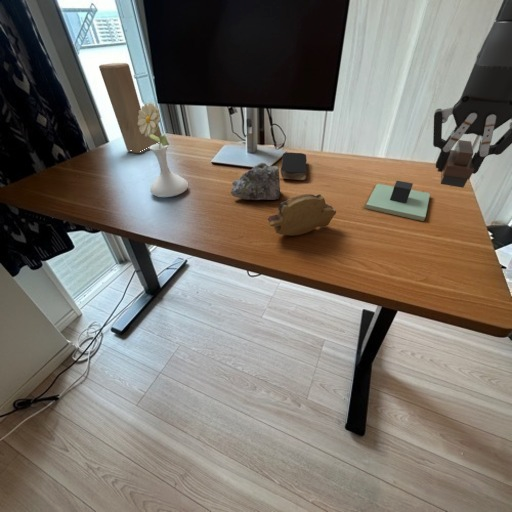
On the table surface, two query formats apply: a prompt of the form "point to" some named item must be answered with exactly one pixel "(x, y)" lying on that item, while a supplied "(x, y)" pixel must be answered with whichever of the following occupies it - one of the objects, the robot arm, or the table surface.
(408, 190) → the charcoal matte cube
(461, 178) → the brown stepped block
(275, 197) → the mineral rock
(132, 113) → the decorative block
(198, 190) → the table surface
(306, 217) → the wooden carving
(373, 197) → the tray
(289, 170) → the black sponge
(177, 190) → the flower in vase
